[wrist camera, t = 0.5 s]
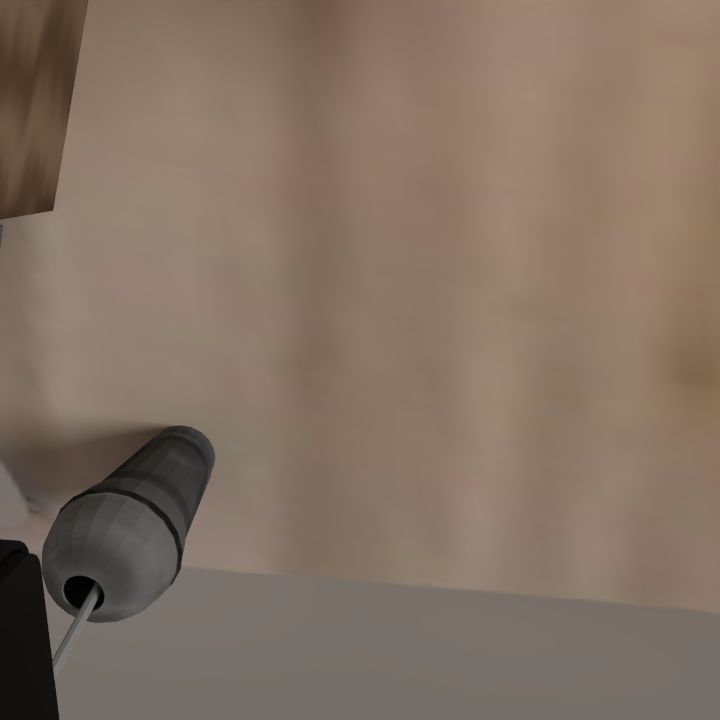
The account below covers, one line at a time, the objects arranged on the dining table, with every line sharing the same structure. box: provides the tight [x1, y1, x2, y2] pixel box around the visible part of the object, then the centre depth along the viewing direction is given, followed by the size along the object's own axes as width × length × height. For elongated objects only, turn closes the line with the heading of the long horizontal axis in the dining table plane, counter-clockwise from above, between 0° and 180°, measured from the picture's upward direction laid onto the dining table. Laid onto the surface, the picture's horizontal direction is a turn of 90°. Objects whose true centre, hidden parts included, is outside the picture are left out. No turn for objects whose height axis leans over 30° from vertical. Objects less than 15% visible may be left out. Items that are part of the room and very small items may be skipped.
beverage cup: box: [42, 426, 215, 680], centre depth 37 cm, size 7×7×20 cm
